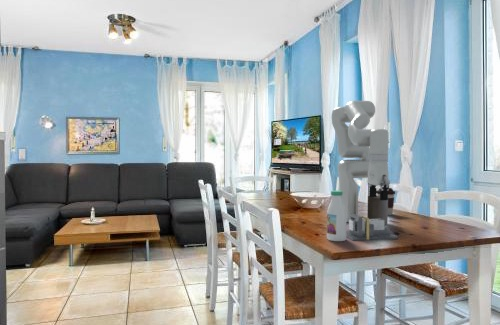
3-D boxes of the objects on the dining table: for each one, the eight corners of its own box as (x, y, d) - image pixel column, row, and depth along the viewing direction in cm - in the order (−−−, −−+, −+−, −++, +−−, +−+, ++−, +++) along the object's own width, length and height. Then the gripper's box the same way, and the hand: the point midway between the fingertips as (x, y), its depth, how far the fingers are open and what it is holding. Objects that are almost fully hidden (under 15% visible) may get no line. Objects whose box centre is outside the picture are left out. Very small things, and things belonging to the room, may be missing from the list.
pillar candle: (365, 224, 181) (366, 194, 181) (369, 220, 190) (369, 192, 189) (386, 226, 177) (387, 195, 176) (389, 222, 186) (389, 193, 185)
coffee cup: (372, 213, 212) (372, 187, 211) (385, 212, 216) (385, 186, 216) (385, 216, 203) (385, 189, 202) (398, 215, 207) (399, 188, 207)
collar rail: (341, 233, 161) (341, 212, 161) (383, 232, 164) (383, 211, 163) (352, 240, 149) (352, 218, 149) (397, 238, 152) (398, 216, 151)
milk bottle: (343, 237, 155) (343, 189, 154) (348, 241, 147) (348, 191, 147) (324, 237, 155) (325, 189, 154) (329, 241, 147) (329, 192, 146)
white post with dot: (348, 228, 157) (348, 219, 157) (379, 227, 159) (379, 218, 159) (352, 230, 153) (352, 220, 153) (384, 229, 155) (384, 219, 155)
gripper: (361, 157, 164) (360, 196, 165) (380, 159, 147) (379, 201, 148) (377, 157, 165) (376, 195, 166) (397, 159, 148) (397, 201, 149)
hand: (378, 198), depth 157 cm, fingers open, 9 cm apart
